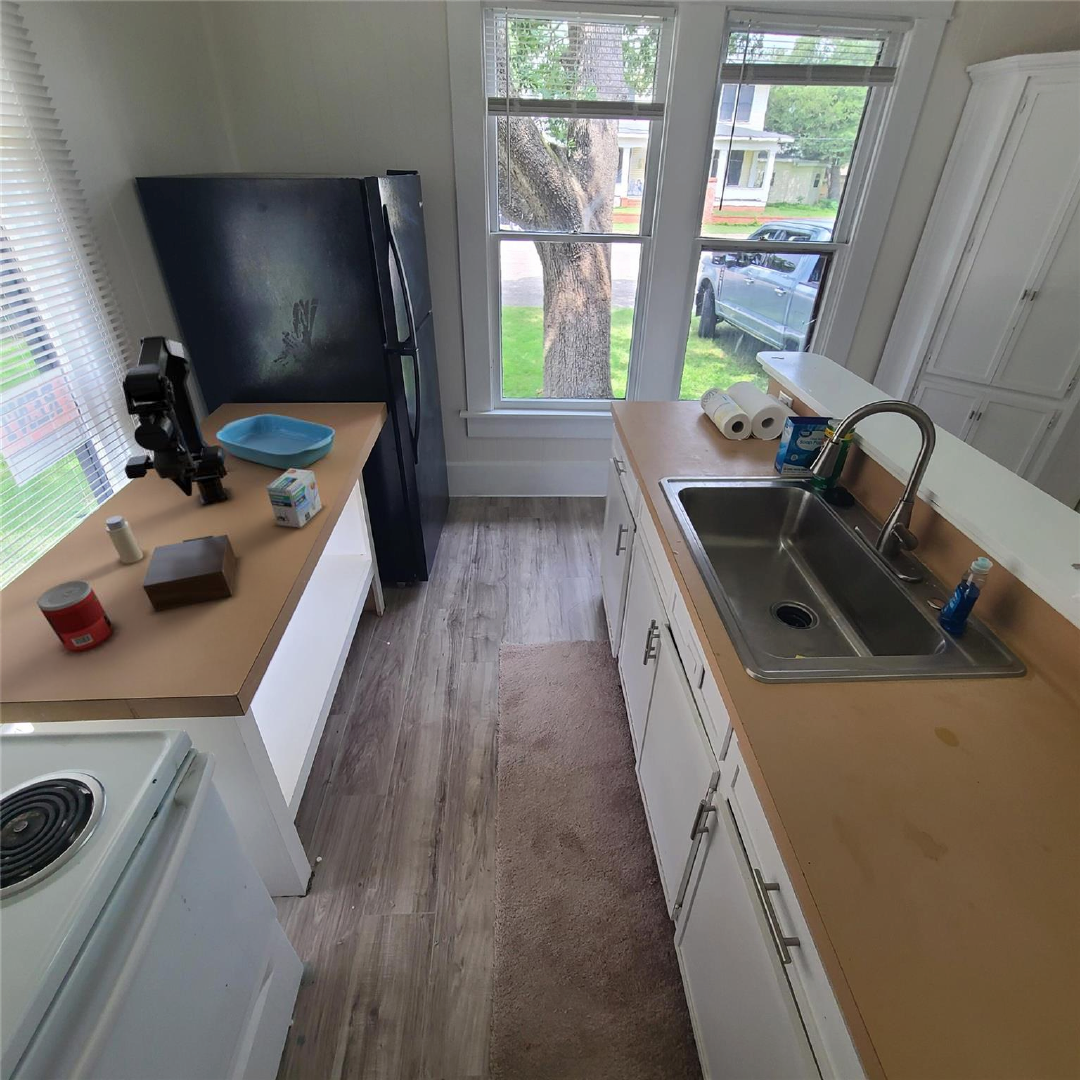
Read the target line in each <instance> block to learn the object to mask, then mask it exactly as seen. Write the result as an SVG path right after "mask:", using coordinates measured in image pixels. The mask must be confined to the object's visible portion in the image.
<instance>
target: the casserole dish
mask: <svg viewBox="0 0 1080 1080" xmlns="http://www.w3.org/2000/svg"><path fill="white" fill-rule="evenodd" d="M335 436H336V431H335V429H334V428H332V427H330V426H327V425H323V424H320V423H316V422H311V421H307V420H302V419H298V418H295V417H290V416H285V415H280V414H272V413H271V414H270V413H266V414H258V415H254V416H250V417H245V418H241V419H237V420H234V421H230V422H229V423H227V424H225V425H224V426H223V428H222V429H220V430H219V431H217V432H216V434H215V437H216V438H217V440H218V441H219V443H220V444H221V445H222V448H223V449H225V450H226V451H227V453H229V454H231V455H232V456H234V457H237V458H241V459H244V460H247V461H251V462H254V463H257V464H261V465H265V466H267V467H272V468H276V469H279V470H285V471H288V470H289V469H298V470H303V469H304V468H306V467H308V466H310V465H312V464H313V463H315V462H317V461H319V460H321V459H323V458H324V457H325V456H326V455H328V454H329V453H330V452H331V450H332V449H333V446H334V441H335Z"/></svg>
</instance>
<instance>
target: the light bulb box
mask: <svg viewBox="0 0 1080 1080" xmlns="http://www.w3.org/2000/svg"><path fill="white" fill-rule="evenodd" d="M314 473H315V472H314V471H313V470H308V469H307V470H305V469H299V470H298V469H289V470H285V472H284V473H282V474H281V475H280V476H279V477H278V478H276V479H275V480H274V481H273V482H272V483H270V484H269V485H268V486H266V490H267V494H268V497H269V500H270V504H271V507H272V510H273V514H274V517H275V520H276V525H277V526H284V527H292V528H299V529H300V528H302V527H303V526H304V525H305V524H306V523H308V521H310V519H312V518H313V517H314V516H315V515H316V514H317V513H318V512H319V511H320V510H322V508H323V507H322V502H321V498H320V494H319V490H318V486H317V482H316V477H315V474H314Z"/></svg>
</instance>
